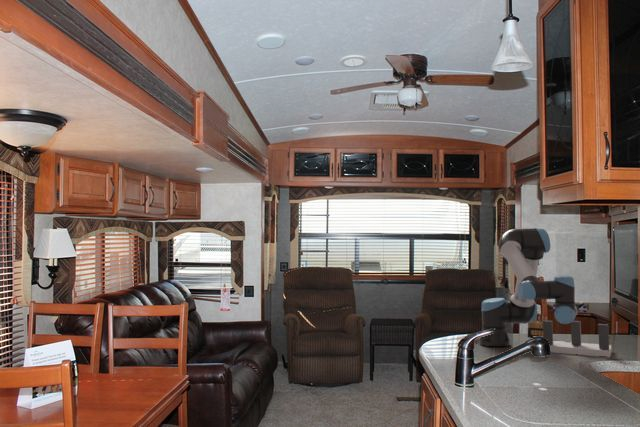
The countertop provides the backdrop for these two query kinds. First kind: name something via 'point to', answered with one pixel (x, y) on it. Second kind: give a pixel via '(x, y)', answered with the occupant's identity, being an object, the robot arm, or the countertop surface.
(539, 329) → the ammunition clip
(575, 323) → the dark grey upright block
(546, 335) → the three peg stand
